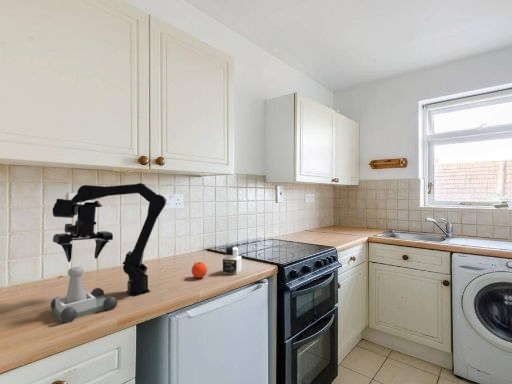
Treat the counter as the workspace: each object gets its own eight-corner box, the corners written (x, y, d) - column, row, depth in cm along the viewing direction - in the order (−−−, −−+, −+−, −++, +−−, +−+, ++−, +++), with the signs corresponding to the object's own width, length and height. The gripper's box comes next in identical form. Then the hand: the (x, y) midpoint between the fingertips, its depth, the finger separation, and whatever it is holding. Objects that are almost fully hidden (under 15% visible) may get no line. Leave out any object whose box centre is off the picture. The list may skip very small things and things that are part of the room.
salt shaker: (85, 302, 97) (85, 264, 97) (88, 307, 92) (87, 267, 92) (65, 306, 93) (64, 267, 93) (66, 312, 89) (66, 271, 89)
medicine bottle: (222, 273, 135) (222, 248, 135) (228, 269, 142) (228, 245, 142) (236, 274, 133) (236, 249, 133) (241, 270, 140) (241, 246, 139)
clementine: (187, 277, 129) (187, 261, 129) (200, 274, 134) (200, 259, 134) (197, 281, 124) (197, 264, 124) (210, 277, 129) (210, 261, 129)
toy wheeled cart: (102, 297, 105) (102, 285, 105) (117, 307, 96) (117, 294, 96) (50, 310, 94) (50, 297, 94) (61, 324, 84) (61, 309, 84)
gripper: (101, 216, 118) (98, 253, 118) (49, 216, 103) (45, 259, 103) (115, 218, 112) (111, 258, 112) (61, 219, 97) (57, 265, 97)
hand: (82, 260), depth 106 cm, fingers open, 9 cm apart
